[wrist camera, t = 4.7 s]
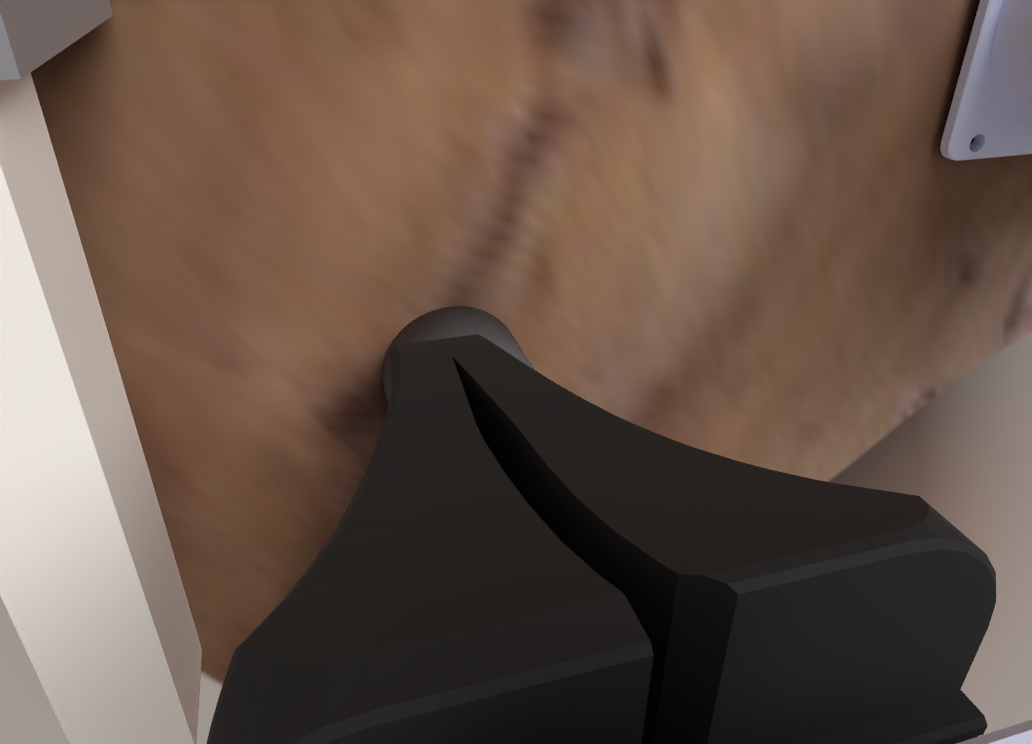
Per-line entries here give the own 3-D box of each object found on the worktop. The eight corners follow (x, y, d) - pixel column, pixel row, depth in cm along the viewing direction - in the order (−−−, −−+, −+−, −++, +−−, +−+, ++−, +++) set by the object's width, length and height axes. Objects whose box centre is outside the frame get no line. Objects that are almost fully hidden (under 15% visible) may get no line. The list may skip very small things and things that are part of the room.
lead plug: (518, 297, 22) (583, 386, 17) (518, 417, 24) (576, 521, 20) (375, 316, 21) (408, 414, 16) (388, 438, 23) (419, 553, 18)
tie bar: (51, -241, 13) (-121, -384, 7) (229, 506, 22) (222, 741, 15) (-153, -250, 12) (-551, -422, 6) (113, 526, 21) (55, 783, 15)
